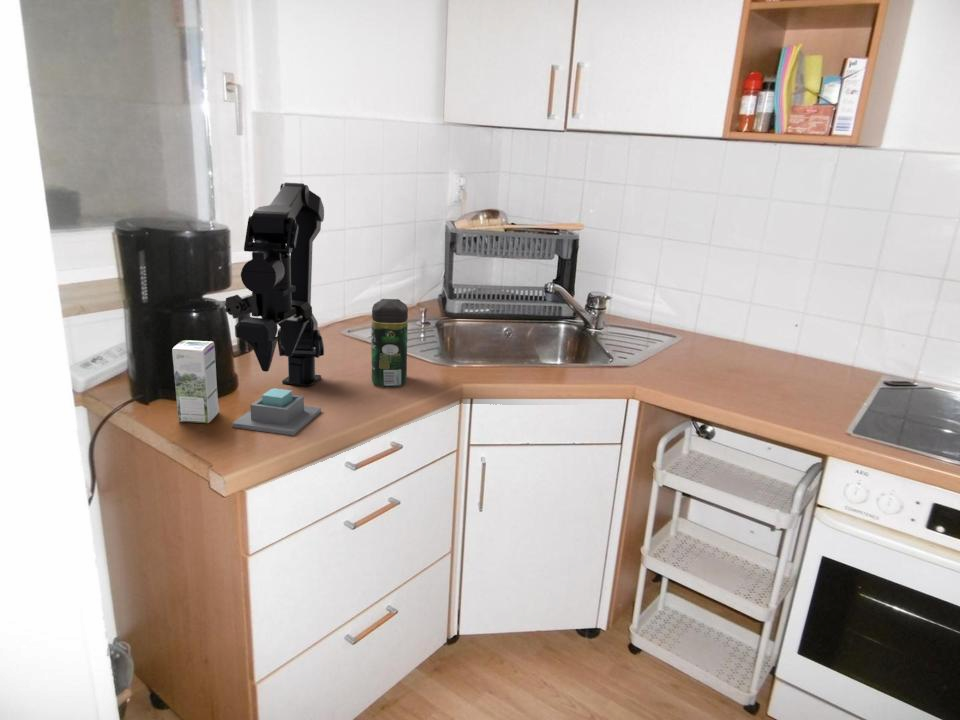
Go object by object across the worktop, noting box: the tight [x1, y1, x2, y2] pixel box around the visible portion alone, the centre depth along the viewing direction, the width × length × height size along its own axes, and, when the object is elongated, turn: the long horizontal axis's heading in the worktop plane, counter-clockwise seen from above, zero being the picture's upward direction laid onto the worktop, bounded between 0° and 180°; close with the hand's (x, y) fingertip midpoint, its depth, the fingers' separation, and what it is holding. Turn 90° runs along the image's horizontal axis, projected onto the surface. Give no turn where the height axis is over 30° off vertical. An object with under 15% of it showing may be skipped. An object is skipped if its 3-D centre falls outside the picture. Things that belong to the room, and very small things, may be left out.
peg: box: [261, 387, 293, 408], centre depth 127 cm, size 4×4×4 cm
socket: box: [231, 394, 322, 437], centre depth 128 cm, size 12×12×4 cm
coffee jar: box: [370, 298, 409, 389], centre depth 149 cm, size 10×8×19 cm
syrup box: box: [171, 339, 220, 424], centre depth 125 cm, size 6×6×14 cm
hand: (277, 363), depth 126 cm, fingers open, 9 cm apart
